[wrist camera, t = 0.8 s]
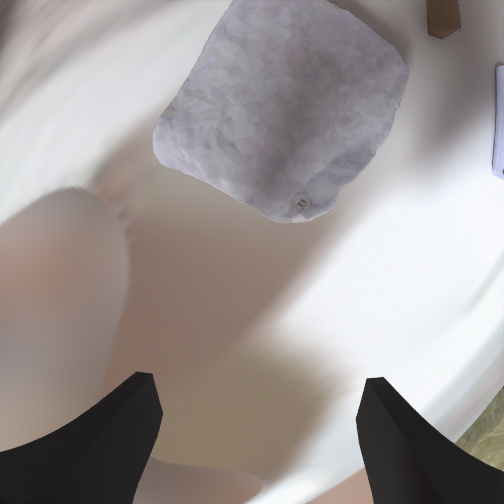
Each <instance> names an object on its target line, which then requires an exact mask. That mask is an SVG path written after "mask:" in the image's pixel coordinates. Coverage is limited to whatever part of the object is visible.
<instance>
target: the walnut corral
mask: <svg viewBox="0 0 504 504" xmlns="http://www.w3.org/2000/svg"><path fill="white" fill-rule="evenodd" d="M426 5H427V19H428V34H430V35H433V36H435V37H438V38H440V39H443V38H444V37H446V36H448V35H449V34H451V33H453V32H455V31H456V30H458V29H460V28H461V23H460V14H459V6H458V0H426Z"/></svg>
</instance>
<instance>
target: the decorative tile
mask: <svg viewBox="0 0 504 504" xmlns="http://www.w3.org/2000/svg"><path fill="white" fill-rule="evenodd" d="M455 445H457V446H458V447H460V448H461V449H462V450H464V451H465V452H467V453H469V454H470V455H472V456H474V457H475V458H477V459H479V460H481V461H483V462H484V463H486V464H488V465H490V466H492V467H495V468H497V469H499V470H501V471H502V470H504V386H503V387H502V389H501V390H500V391H499V393H498V394H497V395H496V396H495V398H494V399H493V400H492V402H491V403H490V404H489V405H488V407H487V408H486V409H485V410H484V411H483V413H482V414H481V415H480V416H479V417H478V419H477V420H476V421H475V422H474V423H473V424H472V425H471V427H470V428H469V429H468V430H467V431H466V432H465V433H464V434H463V435H462V436H461V437H460V438H459V440H458V441H457V442H456V443H455Z"/></svg>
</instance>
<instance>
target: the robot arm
mask: <svg viewBox="0 0 504 504" xmlns="http://www.w3.org/2000/svg"><path fill="white" fill-rule="evenodd" d="M496 78H497V114H496V134H495V147H494V158H493V166H492V171H493V174H494V175H495V176H496V177H498V178H501V179H504V174H503V169H504V66H503V65H499V66H497V67H496ZM162 416H163V411H162V408H161V404H160V401H159V397H158V393H157V390H156V386H155V382H154V378H153V374H151V373H144V372H135V373H134V374H133V375H132V376H130V377H129V378H128V379H127V380H125V381H124V382H123V383H122V384H121V385H119V386H118V387H117V388H116V389H114V390H113V391H112V392H111V393H110V394H108V395H107V396H106V397H104V398H103V399H102V400H101V401H99V402H98V403H97V404H96V405H94V406H93V407H91V408H90V409H89V410H87V411H86V412H84V413H83V414H81V415H80V416H79V417H77V418H76V419H74V420H73V421H71V422H70V423H68V424H66V425H65V426H63V427H61V428H59V429H57V430H56V431H54V432H52V433H50V434H48V435H46V436H44V437H42V438H39V439H37V440H34V441H32V442H30V443H27V444H25V445H22V446H19V447H16V448H13V449H10V450H6V451H2V452H0V504H132V502H133V499H134V495H135V492H136V488H137V486H138V483H139V481H140V478H141V475H142V473H143V471H144V468H145V466H146V463H147V461H148V459H149V456H150V454H151V451H152V449H153V446H154V444H155V441H156V439H157V436H158V432H159V429H160V425H161V420H162ZM356 424H357V432H358V439H359V445H360V449H361V453H362V457H363V460H364V464H365V468H366V472H367V476H368V480H369V483H370V487H371V491H372V496H373V501H374V504H504V471H501V470H499V469H497V468H495V467H492V466H490V465H488V464H486V463H484V462H483V461H481V460H479V459H477V458H475V457H474V456H472V455H470V454H469V453H467V452H465V451H464V450H462V449H461V448H460V447H458V446H457V445H455V444H454V443H453V442H451V441H450V440H448V439H447V438H446V437H445V436H443V435H442V434H441V433H440V432H439V431H437V430H436V429H435V428H434V427H433V426H432V425H430V424H429V423H428V422H427V421H426V420H425V419H424V418H423V417H422V416H421V415H420V414H419V413H418V412H417V411H416V410H415V409H414V408H413V407H412V406H411V405H410V404H409V403H408V402H407V401H406V400H405V399H404V398H403V397H402V396H401V395H400V394H399V393H398V392H397V391H396V390H395V389H394V388H393V386H392V385H391V384H390V383H389V382H388V381H387V380H386V379H385V378H384V377H378V378H367V379H366V383H365V387H364V391H363V395H362V399H361V402H360V406H359V409H358V413H357V416H356Z"/></svg>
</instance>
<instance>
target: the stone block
mask: <svg viewBox="0 0 504 504" xmlns="http://www.w3.org/2000/svg"><path fill="white" fill-rule="evenodd" d="M407 80H408V68H407V66H406V63H405V62H404V61H403V58H402V57H401V55H400V54H399V52H398V51H397V50H396V49H395V48H394V47H393V46H392V45H391V44H390V43H389V42H387V41H386V40H385V39H383V38H382V37H380V35H378V34H377V33H376V32H375V31H374V30H372V29H371V28H370V27H369V26H368V25H366V24H365V23H364V22H363V21H361V20H360V19H359V18H357V17H356V16H354V15H353V14H352V13H350V12H349V11H347V10H345V9H342V8H340V7H338V6H336V5H334V4H333V3H331V2H330V1H328V0H233V2H232V3H231V4H230V6H229V7H228V9H227V10H226V12H225V13H224V15H223V16H222V18H221V19H220V20H219V22H218V23H217V25H216V26H215V28H214V30H213V31H212V33H211V35H210V37H209V38H208V40H207V42H206V44H205V46H204V48H203V50H202V52H201V54H200V56H199V58H198V60H197V62H196V64H195V66H194V67H193V69H192V71H191V73H190V74H189V76H188V78H187V79H186V81H185V82H184V83H183V85H182V86H181V88H180V90H179V92H178V94H177V96H176V97H175V98H174V100H173V101H172V102H171V103H170V105H169V106H168V107H167V108H166V110H165V111H164V112H163V114H162V115H161V117H160V119H159V121H158V123H157V125H156V127H155V129H154V131H153V150H154V153H155V155H156V157H157V158H158V160H159V162H160V163H161V164H162V165H164V166H166V167H168V168H171V169H176V170H179V171H182V172H183V173H185V174H188V175H192V176H194V177H196V178H198V179H200V180H203V181H205V182H207V183H209V184H210V185H212V186H214V187H216V188H217V189H219V190H221V191H223V192H225V193H226V194H228V195H230V196H232V197H233V198H234V199H236V200H237V201H239V202H241V203H243V204H245V205H247V206H249V207H251V208H253V209H255V210H256V211H257V212H259V213H260V214H262V215H263V216H265V217H266V218H268V219H270V220H273V221H276V222H279V223H287V224H288V223H290V222H294V223H300V222H308V221H311V220H313V219H315V218H316V217H319V216H321V215H324V214H326V213H327V212H328V211H329V210H330V209H331V208H332V207H333V206H334V203H335V201H336V198H337V196H338V194H339V192H340V190H341V189H342V188H343V187H344V186H345V185H346V184H348V183H350V182H351V181H353V180H354V179H355V178H356V177H357V176H358V175H359V174H360V172H361V171H362V170H363V169H364V168H365V167H366V166H367V165H368V164H369V163H370V161H371V160H372V158H373V157H374V155H375V154H376V151H377V150H378V149H379V147H380V146H381V145H382V143H383V142H384V141H385V139H386V138H387V136H388V134H389V131H390V129H391V127H392V123H393V120H394V112H395V111H396V110H397V108H398V107H399V105H400V99H401V96H402V93H403V91H404V88H405V85H406V83H407Z"/></svg>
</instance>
